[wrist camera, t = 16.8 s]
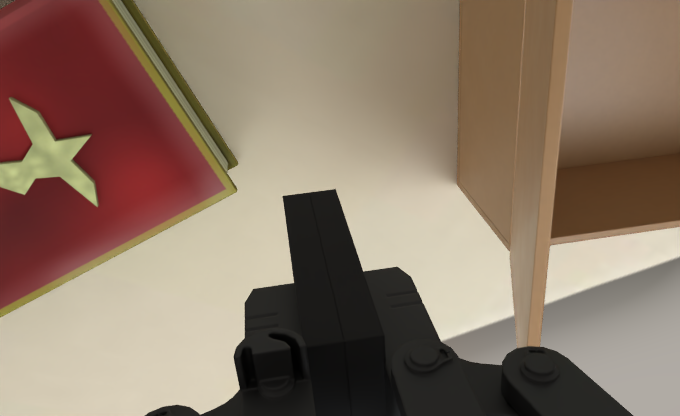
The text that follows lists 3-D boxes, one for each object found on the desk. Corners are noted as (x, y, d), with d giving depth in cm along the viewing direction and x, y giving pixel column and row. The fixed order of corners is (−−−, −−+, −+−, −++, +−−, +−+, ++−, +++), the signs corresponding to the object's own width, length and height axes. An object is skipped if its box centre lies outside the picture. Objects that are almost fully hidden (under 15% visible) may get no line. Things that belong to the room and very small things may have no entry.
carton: (456, 185, 35) (509, 251, 28) (460, -70, 29) (528, -65, 22) (747, 146, 37) (864, 200, 30) (809, -101, 31) (975, -106, 24)
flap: (518, 258, 28) (509, 257, 28) (541, -63, 21) (529, -62, 22) (534, 405, 20) (521, 404, 20) (577, -39, 13) (559, -38, 14)
